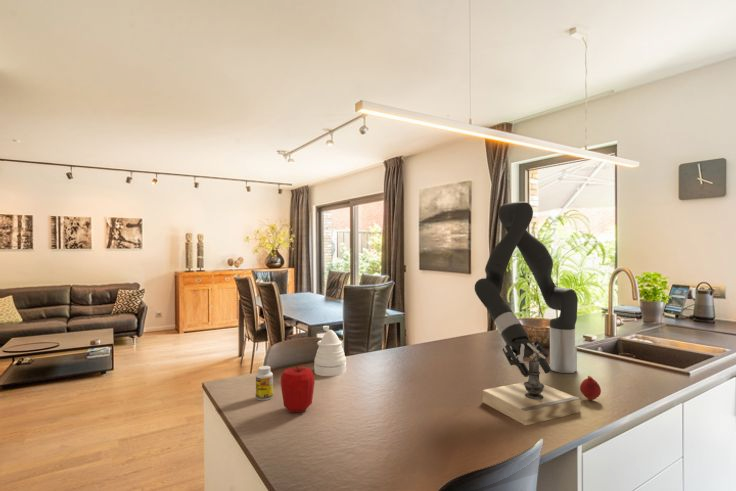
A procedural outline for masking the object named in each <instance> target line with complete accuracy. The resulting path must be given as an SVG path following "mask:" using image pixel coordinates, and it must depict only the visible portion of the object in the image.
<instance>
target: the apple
mask: <svg viewBox="0 0 736 491" xmlns="http://www.w3.org/2000/svg"><path fill="white" fill-rule="evenodd" d="M314 374H315V372H313V370H311V369H310V368H309V367H305V366H303V367H302V366H299V367H298V366H295V367H291V368H290V367H288V368H287V369H284V371H283V372H282V374H281V375H280V376H281V377H280V388H281V394H282V400H283V401H282V402H283V407H284V408H285V409H286V410H287V411H288V412H290V413H301V412H304V411H306V410H307V409H308V408H309V407H310V406H311V405H312V403H313V396H314V391H315V390H314V389H315V375H314Z"/></svg>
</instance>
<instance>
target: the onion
mask: <svg viewBox="0 0 736 491" xmlns="http://www.w3.org/2000/svg"><path fill="white" fill-rule="evenodd" d="M579 386H580V387H579V390H580V393H581V394H582V395H583V396H584V397H585V398H586V399H587V400H588V401H589V402H590V401H593V400H596V399H598V397H600V396H601V393H602V390H601V386H600V384H599V383H598V382H597V380H595V379H594V378H593V377H592V376H591V375H587V378H585V379H584V380H583V381H582V382H581V384H580V385H579Z"/></svg>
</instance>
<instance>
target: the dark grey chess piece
mask: <svg viewBox="0 0 736 491" xmlns="http://www.w3.org/2000/svg"><path fill="white" fill-rule="evenodd" d="M528 370H529V372H530V375H529V376H528V380H527V381H524V382H525V383H524V385H525V388H526V390H527V391H528V393H526V394H525V396H526V397H527V398H530V399H536V400H539V399H543V396H542V395H541V394H540V393H541V392H542V391H543V388H544V385H545V384H544V383H542V382H540V375H541V372H540V364H539V362H538V361H536V360H535V358H533V359H531V360H530V361H529V362H528ZM543 384H544V385H543Z"/></svg>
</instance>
